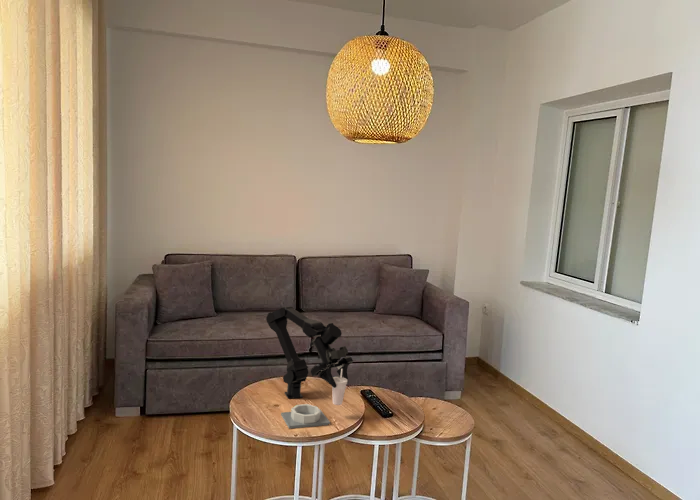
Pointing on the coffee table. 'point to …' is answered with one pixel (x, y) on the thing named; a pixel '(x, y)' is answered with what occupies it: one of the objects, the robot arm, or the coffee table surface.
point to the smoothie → (339, 389)
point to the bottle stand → (304, 417)
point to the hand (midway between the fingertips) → (341, 385)
